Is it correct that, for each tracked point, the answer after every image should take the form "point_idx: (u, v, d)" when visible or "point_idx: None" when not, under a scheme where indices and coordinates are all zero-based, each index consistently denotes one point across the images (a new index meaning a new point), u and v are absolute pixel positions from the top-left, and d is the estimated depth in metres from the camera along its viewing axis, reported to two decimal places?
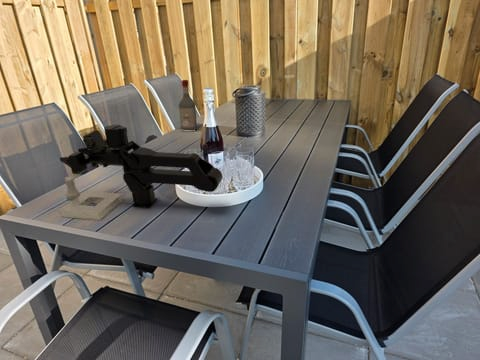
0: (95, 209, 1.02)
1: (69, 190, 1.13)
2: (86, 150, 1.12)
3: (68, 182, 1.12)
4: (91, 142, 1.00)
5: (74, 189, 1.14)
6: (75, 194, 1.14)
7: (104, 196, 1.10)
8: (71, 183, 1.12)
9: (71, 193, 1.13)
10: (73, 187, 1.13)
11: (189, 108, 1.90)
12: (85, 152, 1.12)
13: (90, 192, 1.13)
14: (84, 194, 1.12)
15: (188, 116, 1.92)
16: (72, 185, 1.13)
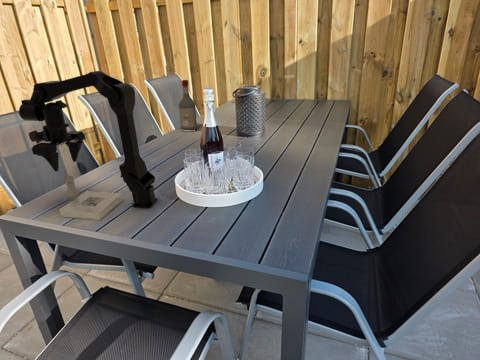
0: (95, 209, 1.02)
1: (69, 190, 1.13)
2: (72, 153, 1.14)
3: (68, 182, 1.12)
4: (31, 133, 1.03)
5: (74, 189, 1.14)
6: (75, 194, 1.14)
7: (104, 196, 1.10)
8: (71, 183, 1.12)
9: (71, 193, 1.13)
10: (73, 187, 1.13)
11: (189, 108, 1.90)
12: (74, 154, 1.14)
13: (90, 192, 1.13)
14: (84, 194, 1.12)
15: (188, 116, 1.92)
16: (72, 185, 1.13)
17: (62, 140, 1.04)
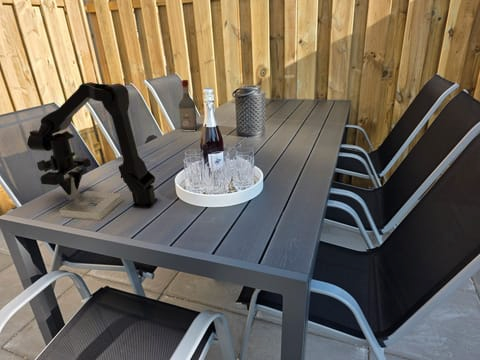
0: (95, 209, 1.02)
1: None
2: None
3: None
4: (39, 163, 1.07)
5: (74, 189, 1.14)
6: (75, 194, 1.14)
7: (104, 196, 1.10)
8: (71, 183, 1.12)
9: (71, 193, 1.13)
10: (73, 187, 1.13)
11: (189, 108, 1.90)
12: (76, 183, 1.15)
13: (90, 192, 1.13)
14: (84, 194, 1.12)
15: (188, 116, 1.92)
16: (72, 185, 1.13)
17: (69, 169, 1.08)
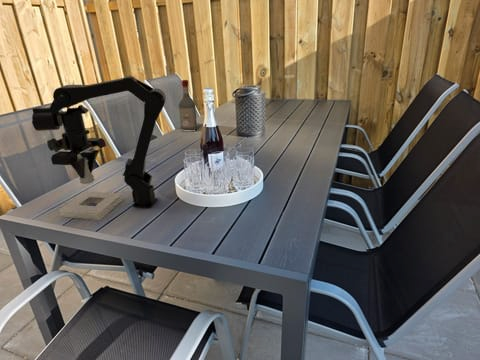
0: (95, 209, 1.02)
1: None
2: None
3: None
4: (50, 141, 0.96)
5: (88, 172, 1.02)
6: (89, 177, 1.02)
7: (104, 196, 1.10)
8: None
9: (84, 176, 1.02)
10: (87, 170, 1.02)
11: (189, 108, 1.90)
12: (89, 166, 1.04)
13: (90, 192, 1.13)
14: (84, 194, 1.12)
15: (188, 116, 1.92)
16: (86, 167, 1.01)
17: (83, 148, 0.97)
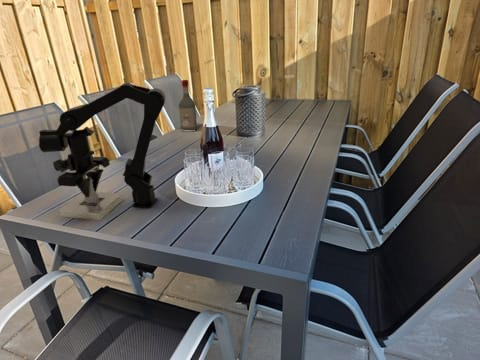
0: (95, 209, 1.02)
1: None
2: (92, 183, 1.06)
3: None
4: (56, 162, 0.98)
5: (93, 191, 1.05)
6: (93, 197, 1.05)
7: (104, 196, 1.10)
8: None
9: (89, 196, 1.04)
10: (91, 189, 1.05)
11: (189, 108, 1.90)
12: (94, 184, 1.06)
13: None
14: None
15: (188, 116, 1.92)
16: (90, 187, 1.04)
17: (88, 169, 1.00)
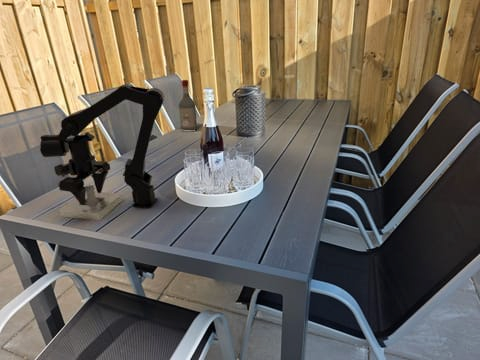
0: (95, 209, 1.02)
1: (89, 200, 1.05)
2: (97, 184, 1.09)
3: (88, 192, 1.04)
4: (57, 167, 0.99)
5: (94, 199, 1.06)
6: (95, 204, 1.06)
7: (104, 196, 1.10)
8: (91, 193, 1.05)
9: (91, 203, 1.06)
10: (93, 197, 1.06)
11: (189, 108, 1.90)
12: (99, 186, 1.09)
13: None
14: None
15: (188, 116, 1.92)
16: (92, 195, 1.05)
17: (89, 173, 1.00)
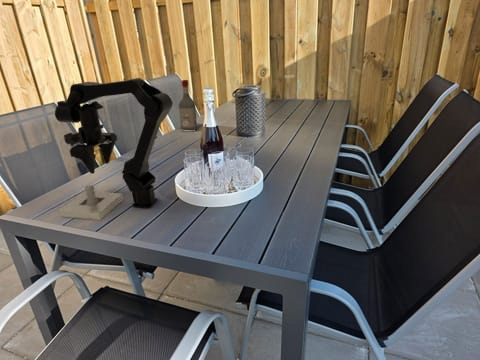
0: (95, 209, 1.02)
1: (89, 200, 1.05)
2: (105, 154, 1.12)
3: (88, 192, 1.04)
4: (67, 135, 1.01)
5: (94, 199, 1.06)
6: (95, 204, 1.06)
7: (104, 196, 1.10)
8: (91, 193, 1.05)
9: (91, 203, 1.06)
10: (93, 197, 1.06)
11: (189, 108, 1.90)
12: (107, 156, 1.12)
13: None
14: (84, 194, 1.12)
15: (188, 116, 1.92)
16: (92, 195, 1.05)
17: (98, 141, 1.03)
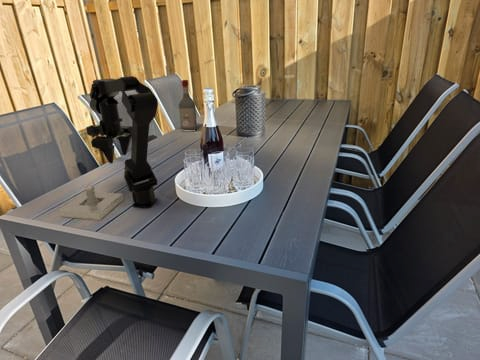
0: (95, 209, 1.02)
1: (89, 200, 1.05)
2: (123, 146, 1.20)
3: (88, 192, 1.04)
4: (89, 127, 1.09)
5: (94, 199, 1.06)
6: (95, 204, 1.06)
7: (104, 196, 1.10)
8: (91, 193, 1.05)
9: (91, 203, 1.06)
10: (93, 197, 1.06)
11: (189, 108, 1.90)
12: (125, 148, 1.20)
13: None
14: (84, 194, 1.12)
15: (188, 116, 1.92)
16: (92, 195, 1.05)
17: (117, 134, 1.11)
